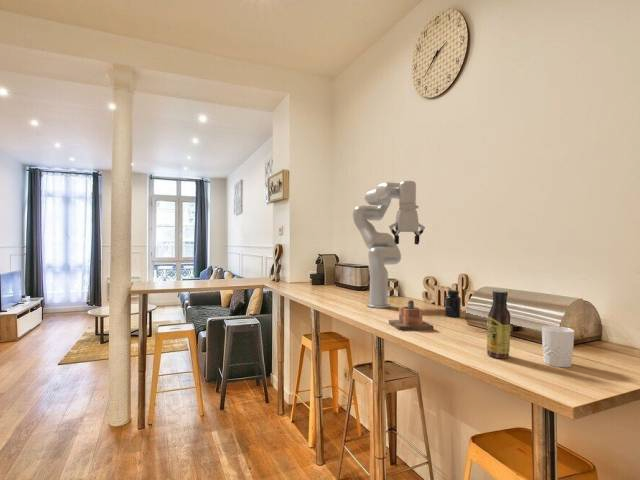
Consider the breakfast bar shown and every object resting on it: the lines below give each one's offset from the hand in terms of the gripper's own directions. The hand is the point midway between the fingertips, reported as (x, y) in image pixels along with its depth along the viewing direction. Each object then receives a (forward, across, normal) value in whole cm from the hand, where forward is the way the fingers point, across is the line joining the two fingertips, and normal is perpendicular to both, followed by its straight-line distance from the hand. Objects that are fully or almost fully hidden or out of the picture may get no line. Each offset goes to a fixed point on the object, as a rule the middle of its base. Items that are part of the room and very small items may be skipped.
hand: (406, 244), depth 172 cm
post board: (+33, +7, +22) cm, 41 cm away
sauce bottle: (+34, -4, +62) cm, 71 cm away
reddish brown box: (+32, +7, +22) cm, 39 cm away
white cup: (+34, -17, +70) cm, 79 cm away
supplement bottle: (+34, -22, +3) cm, 40 cm away
